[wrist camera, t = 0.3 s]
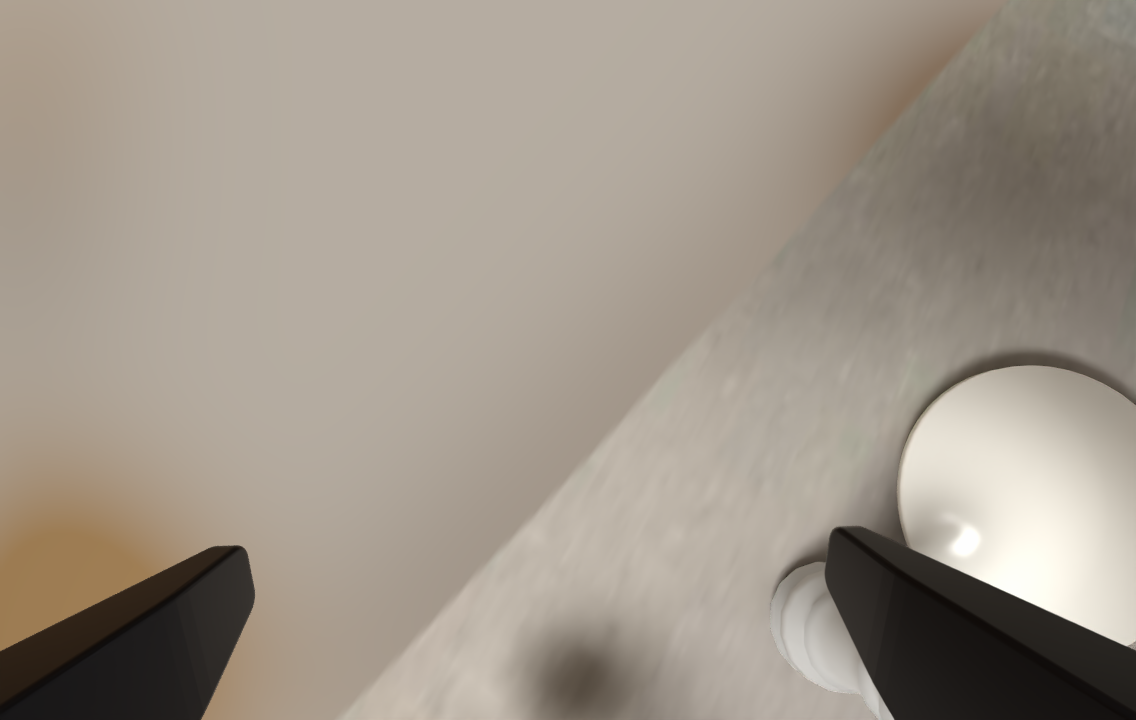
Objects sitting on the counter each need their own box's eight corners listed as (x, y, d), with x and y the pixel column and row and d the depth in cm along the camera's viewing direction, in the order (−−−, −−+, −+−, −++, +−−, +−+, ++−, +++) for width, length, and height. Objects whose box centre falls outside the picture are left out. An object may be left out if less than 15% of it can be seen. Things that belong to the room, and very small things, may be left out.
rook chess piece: (743, 593, 21) (840, 684, 13) (838, 538, 21) (988, 595, 14) (804, 699, 21) (943, 861, 13) (901, 641, 21) (1097, 766, 13)
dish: (1225, 504, 21) (1256, 507, 20) (1052, 711, 20) (1076, 725, 19) (1004, 315, 23) (1024, 310, 22) (833, 501, 22) (845, 503, 21)
